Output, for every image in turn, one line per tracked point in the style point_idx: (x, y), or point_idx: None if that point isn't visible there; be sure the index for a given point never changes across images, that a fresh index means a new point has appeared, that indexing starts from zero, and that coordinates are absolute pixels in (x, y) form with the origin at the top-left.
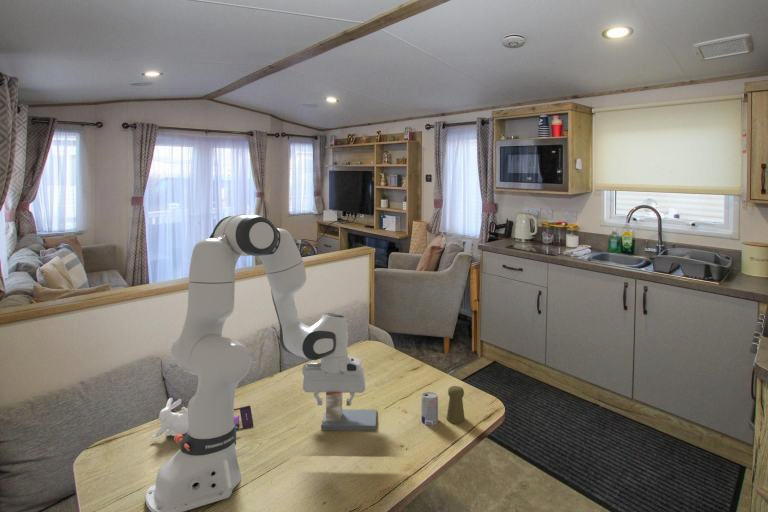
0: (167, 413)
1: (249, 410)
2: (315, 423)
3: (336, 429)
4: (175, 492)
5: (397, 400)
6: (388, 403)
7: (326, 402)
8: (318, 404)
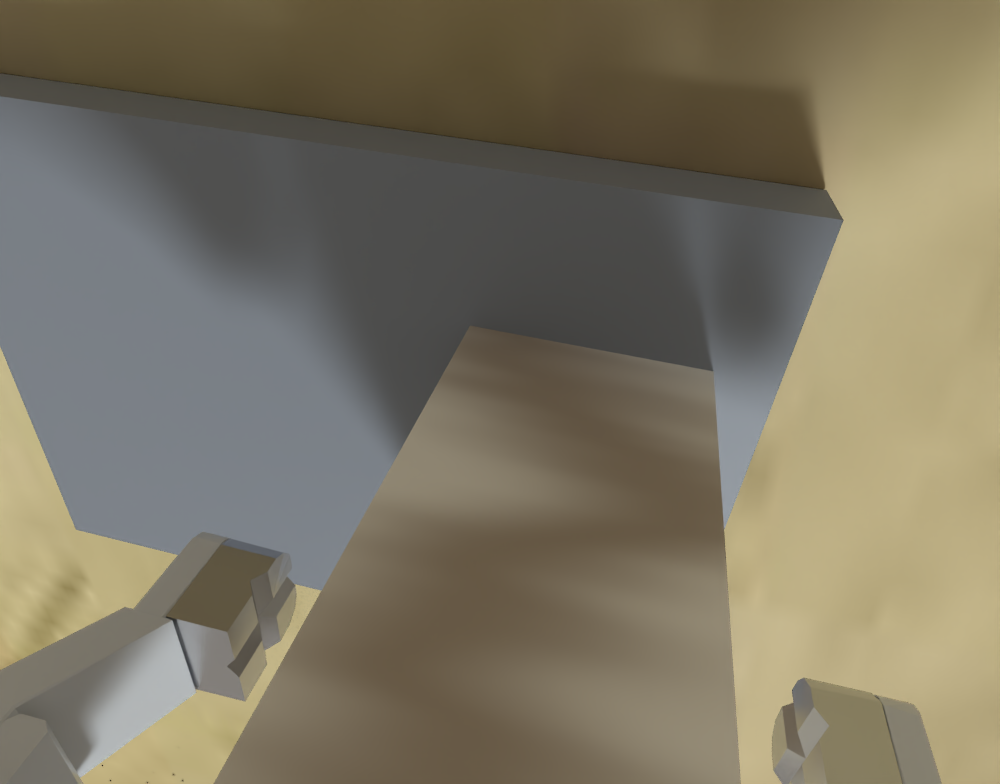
0: None
1: None
2: (875, 431)
3: (543, 151)
4: None
5: None
6: None
7: (720, 669)
8: (894, 711)
